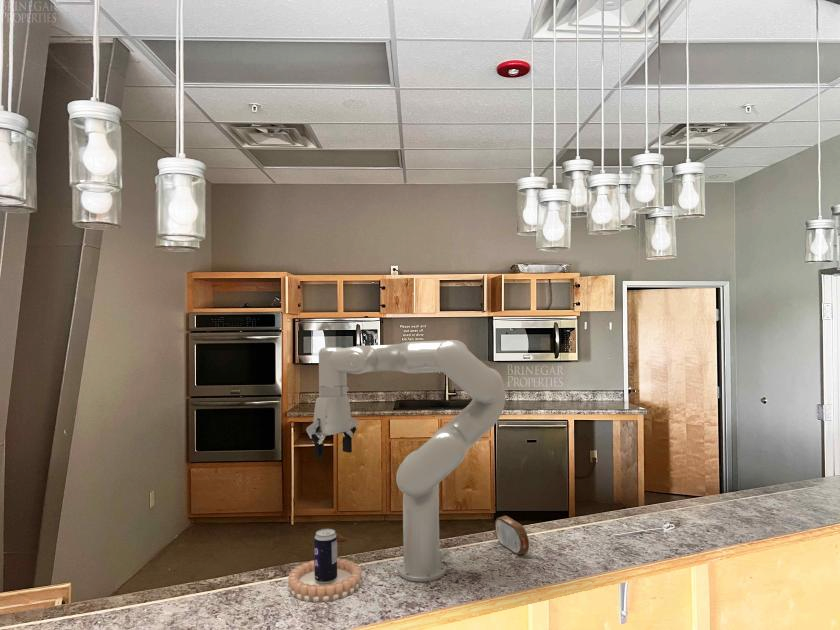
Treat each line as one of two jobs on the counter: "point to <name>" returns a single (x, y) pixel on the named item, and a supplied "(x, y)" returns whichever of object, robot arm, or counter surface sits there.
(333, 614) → the counter surface
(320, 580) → the beverage can
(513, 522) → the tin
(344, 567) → the round dish
